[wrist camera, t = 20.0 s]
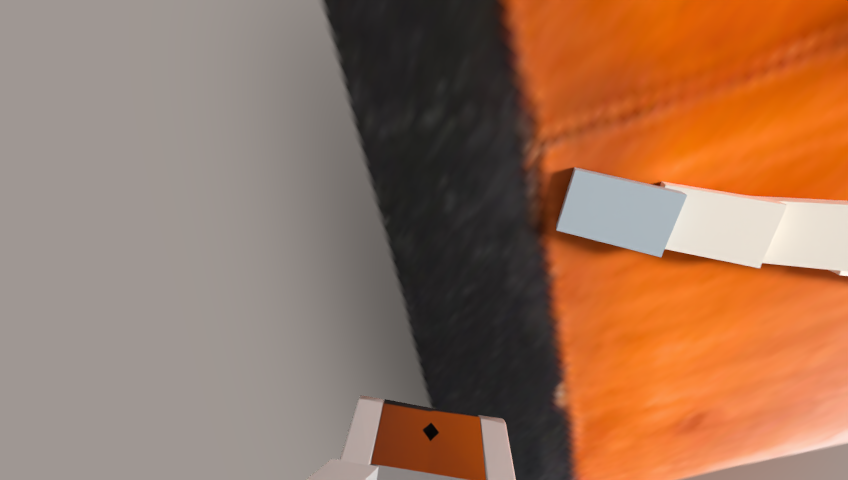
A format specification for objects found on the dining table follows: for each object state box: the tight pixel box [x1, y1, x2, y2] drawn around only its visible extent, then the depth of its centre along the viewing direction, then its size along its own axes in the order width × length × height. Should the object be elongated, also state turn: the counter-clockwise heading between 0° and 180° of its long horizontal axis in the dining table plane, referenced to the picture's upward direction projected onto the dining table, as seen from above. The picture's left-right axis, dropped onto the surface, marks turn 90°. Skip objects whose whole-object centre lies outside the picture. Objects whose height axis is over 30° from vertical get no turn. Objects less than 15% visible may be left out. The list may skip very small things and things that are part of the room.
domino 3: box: [753, 196, 848, 271], centre depth 32 cm, size 2×5×8 cm
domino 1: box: [556, 167, 687, 257], centre depth 32 cm, size 2×5×8 cm
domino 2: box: [660, 181, 787, 268], centre depth 32 cm, size 2×5×8 cm
